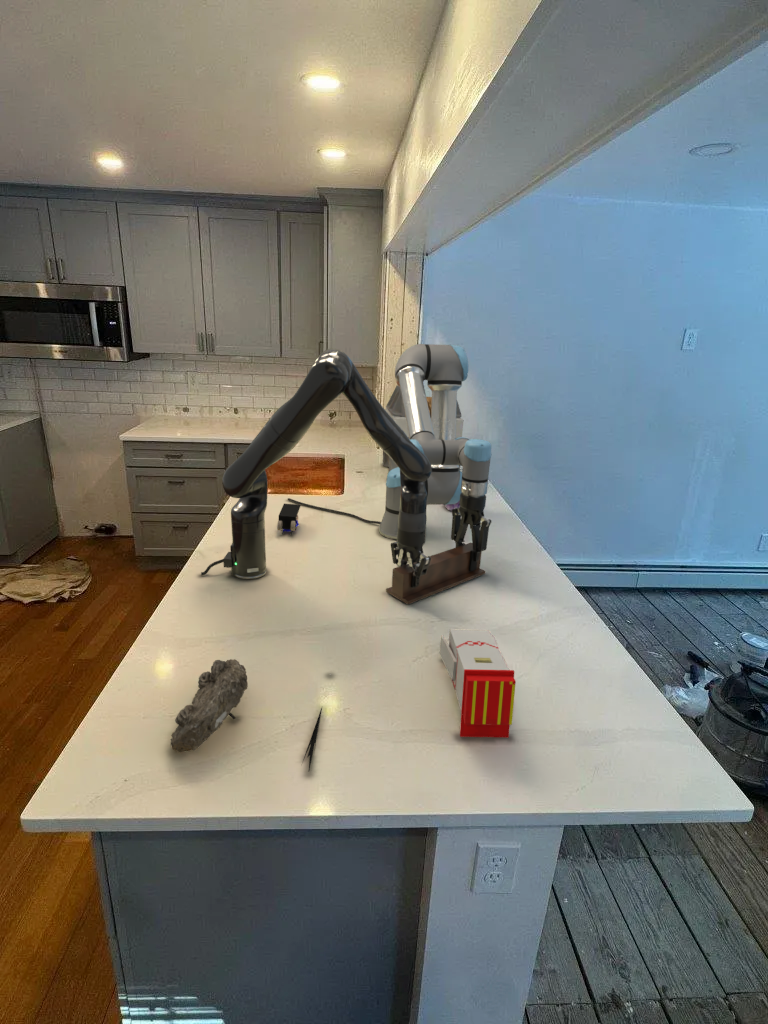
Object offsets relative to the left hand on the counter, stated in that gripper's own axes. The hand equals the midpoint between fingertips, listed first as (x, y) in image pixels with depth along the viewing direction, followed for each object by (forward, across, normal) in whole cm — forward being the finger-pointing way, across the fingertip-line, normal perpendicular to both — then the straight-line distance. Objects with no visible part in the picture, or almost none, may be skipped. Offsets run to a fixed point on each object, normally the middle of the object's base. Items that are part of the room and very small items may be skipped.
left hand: (408, 583), depth 156 cm
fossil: (+4, +14, -63) cm, 65 cm away
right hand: (+2, 0, +24) cm, 24 cm away
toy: (+4, +39, -18) cm, 43 cm away
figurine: (+4, -43, +66) cm, 79 cm away
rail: (+3, 0, +12) cm, 12 cm away
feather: (+4, +27, -48) cm, 55 cm away
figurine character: (+4, -60, -1) cm, 60 cm away
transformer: (+4, -88, +89) cm, 125 cm away
